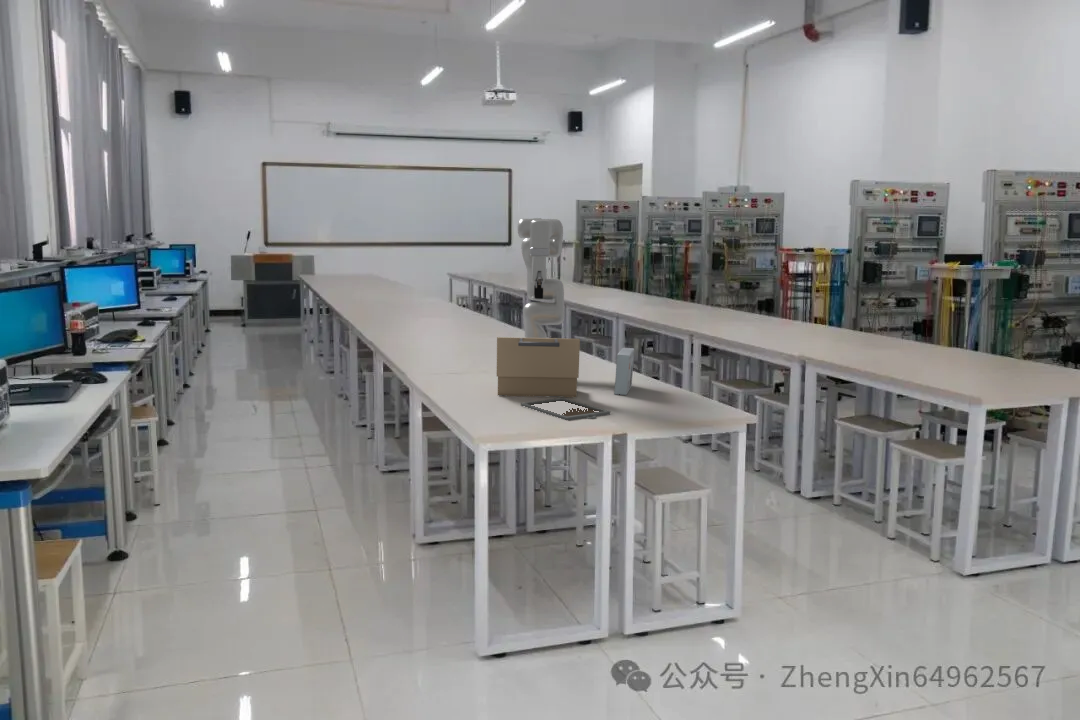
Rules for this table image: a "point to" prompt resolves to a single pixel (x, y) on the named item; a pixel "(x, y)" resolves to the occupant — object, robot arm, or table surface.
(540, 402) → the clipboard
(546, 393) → the mailer box
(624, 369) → the skincare box
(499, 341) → the lid
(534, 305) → the robot arm
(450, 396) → the table surface
